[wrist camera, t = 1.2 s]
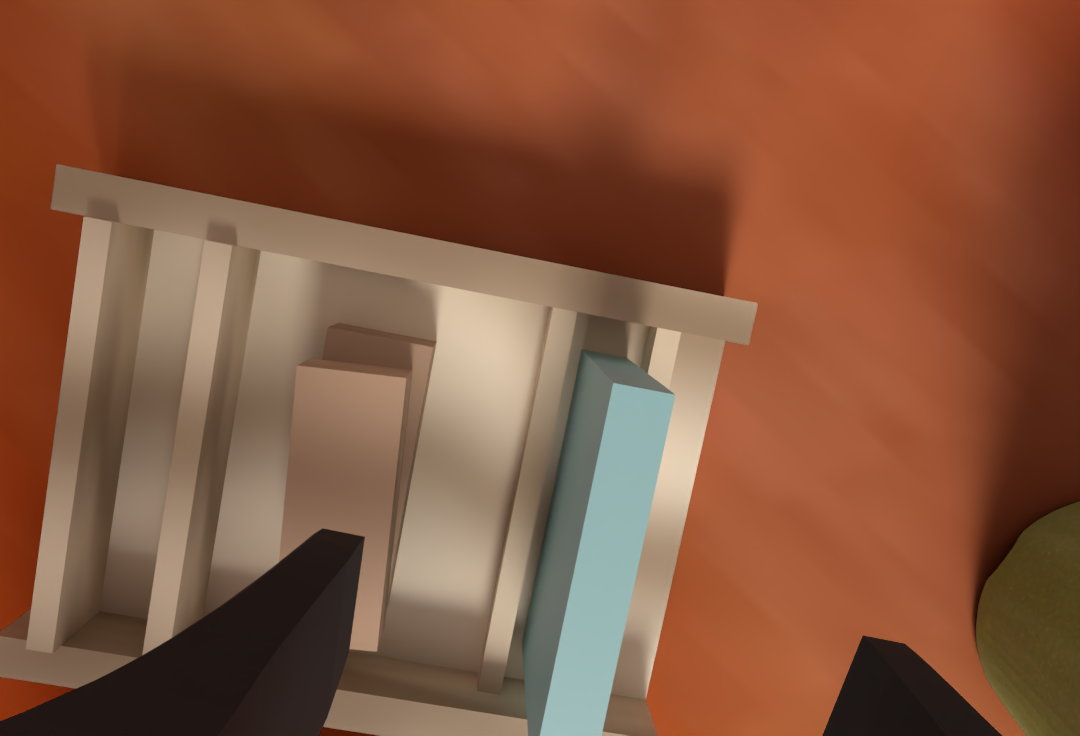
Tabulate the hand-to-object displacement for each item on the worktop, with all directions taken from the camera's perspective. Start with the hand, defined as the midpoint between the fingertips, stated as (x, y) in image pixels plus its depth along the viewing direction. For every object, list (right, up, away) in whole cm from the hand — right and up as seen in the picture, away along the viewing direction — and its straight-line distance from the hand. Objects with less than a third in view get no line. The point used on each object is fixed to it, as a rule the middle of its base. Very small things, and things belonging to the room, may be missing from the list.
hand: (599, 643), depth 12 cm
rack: (-5, +1, +11) cm, 12 cm away
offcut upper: (-5, +1, +9) cm, 10 cm away
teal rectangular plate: (0, 0, +10) cm, 10 cm away
